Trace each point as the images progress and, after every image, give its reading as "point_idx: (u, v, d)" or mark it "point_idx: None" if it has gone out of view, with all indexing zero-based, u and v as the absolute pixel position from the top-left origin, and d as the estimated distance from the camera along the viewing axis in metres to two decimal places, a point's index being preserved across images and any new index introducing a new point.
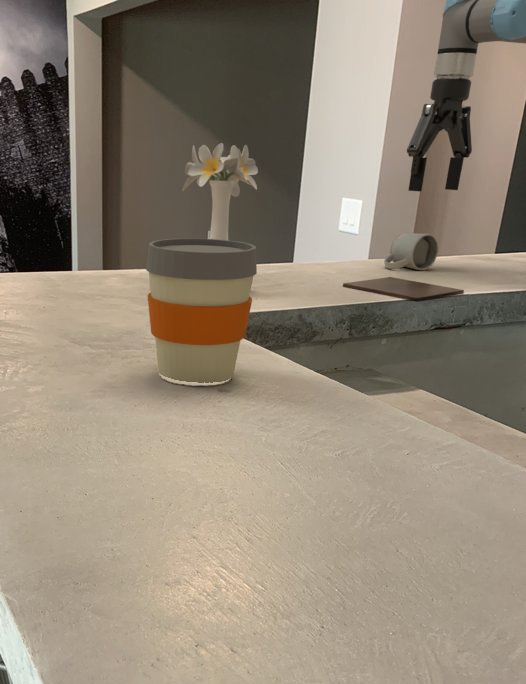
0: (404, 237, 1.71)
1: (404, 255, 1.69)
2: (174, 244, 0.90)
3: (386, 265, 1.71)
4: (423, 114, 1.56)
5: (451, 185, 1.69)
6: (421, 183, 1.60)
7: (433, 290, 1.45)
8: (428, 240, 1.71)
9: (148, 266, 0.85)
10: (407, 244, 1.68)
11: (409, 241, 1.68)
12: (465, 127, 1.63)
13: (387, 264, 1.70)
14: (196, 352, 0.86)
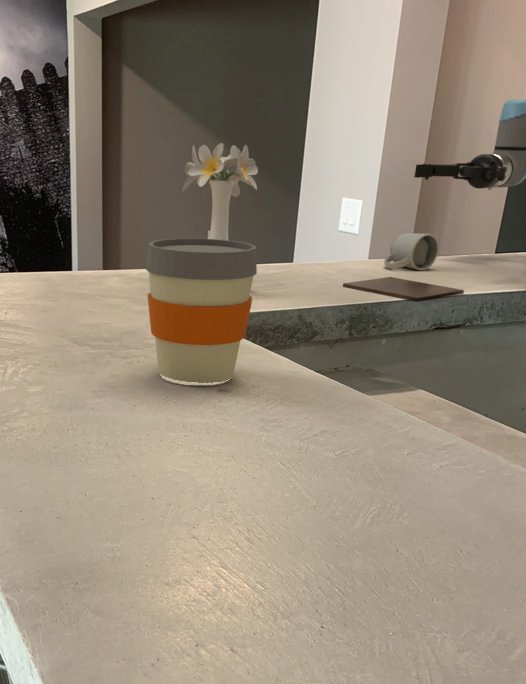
0: (404, 237, 1.71)
1: (404, 255, 1.69)
2: (174, 244, 0.90)
3: (386, 265, 1.71)
4: None
5: None
6: None
7: (433, 290, 1.45)
8: (428, 240, 1.71)
9: (148, 266, 0.85)
10: (407, 244, 1.68)
11: (409, 241, 1.68)
12: (499, 169, 1.73)
13: (387, 264, 1.70)
14: (196, 352, 0.86)
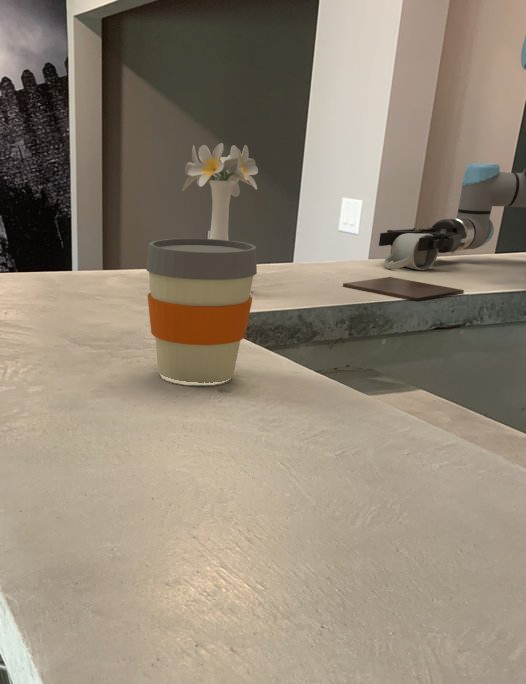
0: (404, 237, 1.71)
1: (404, 255, 1.69)
2: (174, 244, 0.90)
3: (386, 265, 1.71)
4: None
5: None
6: None
7: (433, 290, 1.45)
8: None
9: (148, 266, 0.85)
10: (407, 244, 1.68)
11: (410, 241, 1.68)
12: None
13: (387, 264, 1.70)
14: (196, 352, 0.86)
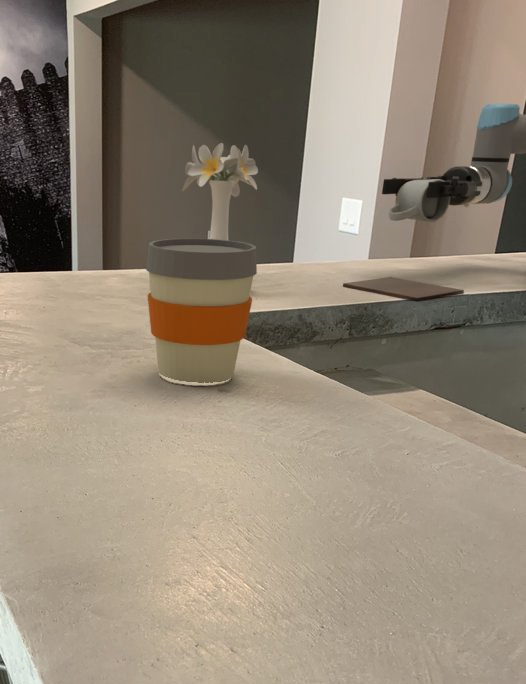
0: (411, 183, 1.49)
1: (411, 204, 1.48)
2: (174, 244, 0.90)
3: (391, 216, 1.50)
4: None
5: None
6: (389, 179, 1.49)
7: (433, 290, 1.45)
8: None
9: (148, 266, 0.85)
10: (415, 191, 1.47)
11: (417, 188, 1.47)
12: None
13: (392, 215, 1.49)
14: (196, 352, 0.86)
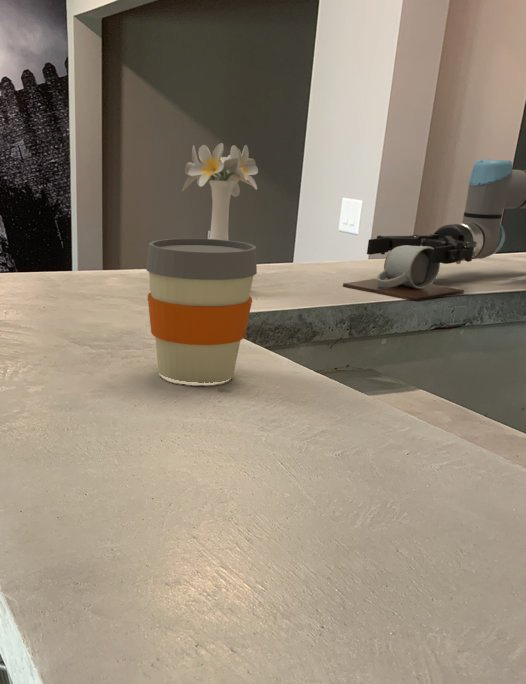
0: (400, 250, 1.46)
1: (400, 271, 1.44)
2: (174, 244, 0.90)
3: (379, 283, 1.46)
4: None
5: None
6: (374, 239, 1.47)
7: (433, 290, 1.45)
8: (428, 254, 1.46)
9: (148, 266, 0.85)
10: (404, 259, 1.43)
11: (406, 255, 1.43)
12: (466, 245, 1.46)
13: (380, 282, 1.45)
14: (196, 352, 0.86)
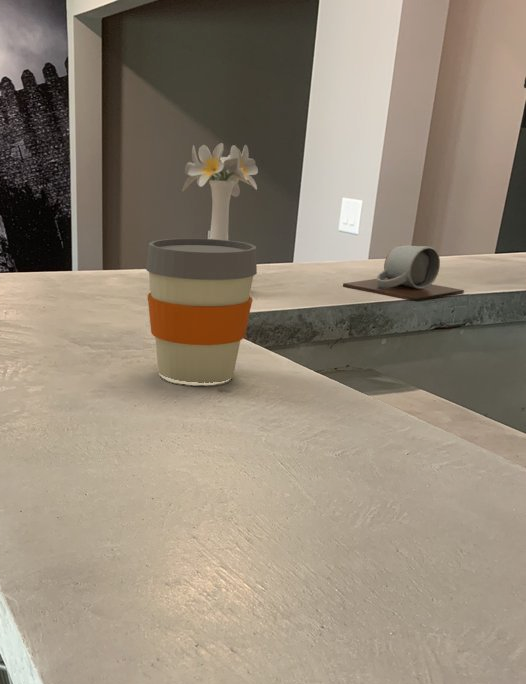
0: (400, 250, 1.46)
1: (400, 271, 1.44)
2: (174, 244, 0.90)
3: (379, 283, 1.46)
4: None
5: None
6: None
7: (433, 290, 1.45)
8: (428, 254, 1.46)
9: (148, 266, 0.85)
10: (404, 259, 1.43)
11: (406, 255, 1.43)
12: None
13: (380, 282, 1.45)
14: (196, 352, 0.86)
